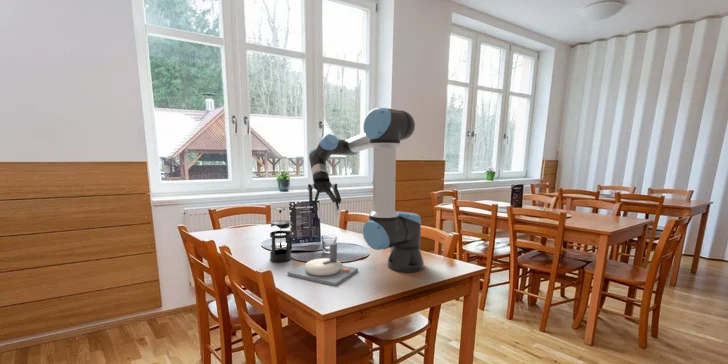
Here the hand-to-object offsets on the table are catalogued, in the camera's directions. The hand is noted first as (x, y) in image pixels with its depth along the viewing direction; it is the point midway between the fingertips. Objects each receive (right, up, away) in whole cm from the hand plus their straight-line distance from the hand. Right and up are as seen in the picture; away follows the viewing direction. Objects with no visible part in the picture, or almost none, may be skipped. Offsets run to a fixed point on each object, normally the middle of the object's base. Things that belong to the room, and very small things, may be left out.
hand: (328, 216), depth 141 cm
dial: (-1, -20, -11) cm, 23 cm away
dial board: (-1, -21, -11) cm, 24 cm away
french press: (-22, -20, +6) cm, 30 cm away
